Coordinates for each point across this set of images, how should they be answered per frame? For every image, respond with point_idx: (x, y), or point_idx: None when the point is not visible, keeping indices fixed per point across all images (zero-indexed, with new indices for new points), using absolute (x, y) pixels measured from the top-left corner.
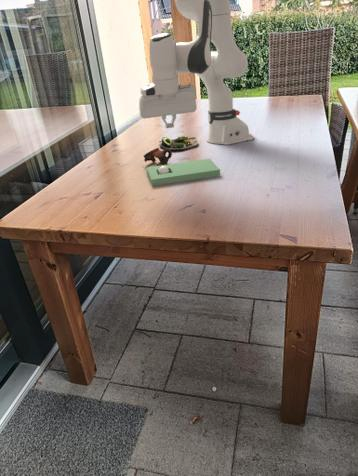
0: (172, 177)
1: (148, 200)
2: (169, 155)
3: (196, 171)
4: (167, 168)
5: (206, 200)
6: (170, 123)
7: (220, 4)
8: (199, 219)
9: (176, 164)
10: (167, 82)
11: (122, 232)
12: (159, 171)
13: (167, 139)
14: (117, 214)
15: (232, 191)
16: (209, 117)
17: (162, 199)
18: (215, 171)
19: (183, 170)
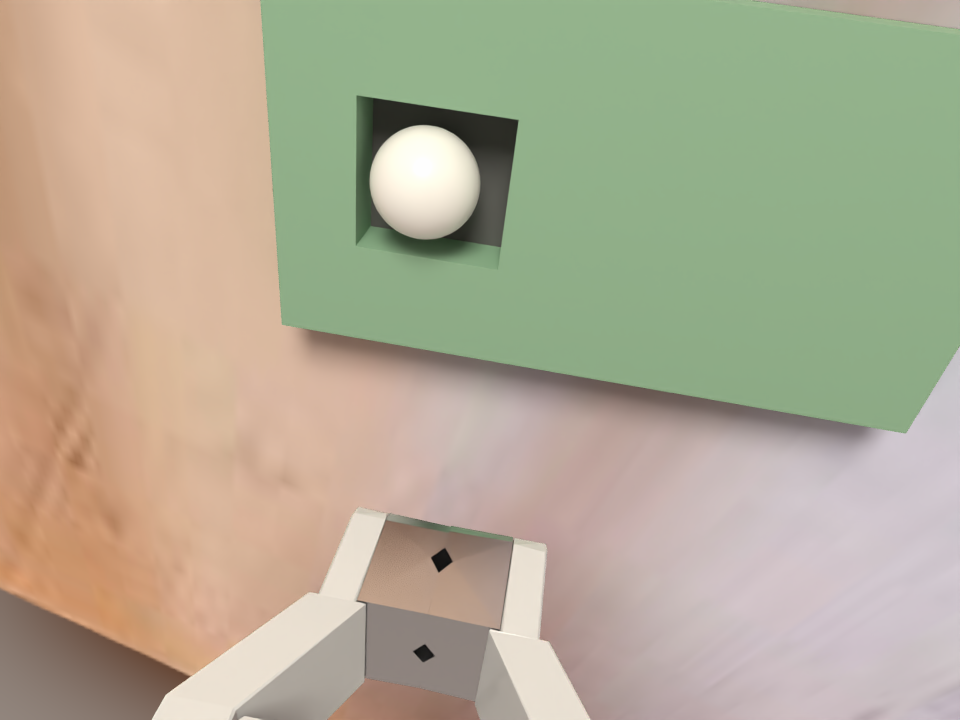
0: (463, 352)
1: (259, 478)
2: None
3: (701, 365)
4: (459, 217)
5: (559, 620)
6: (438, 684)
7: None
8: (452, 709)
9: (631, 42)
10: None
11: (144, 646)
12: (374, 204)
13: None
14: (100, 528)
15: (751, 614)
16: None
17: (340, 506)
18: (858, 418)
19: (611, 276)
